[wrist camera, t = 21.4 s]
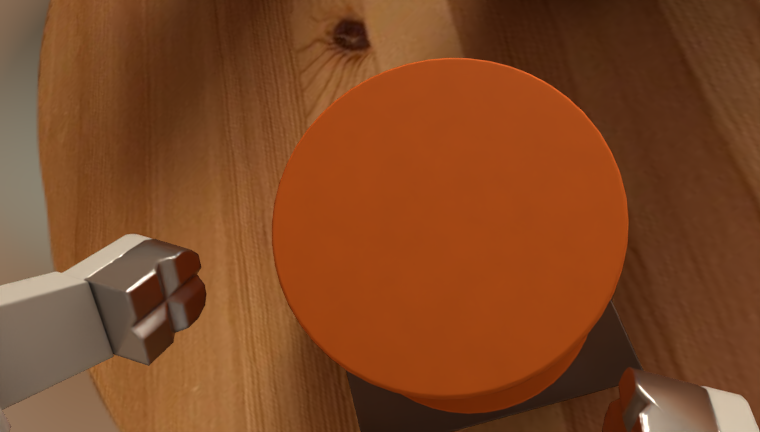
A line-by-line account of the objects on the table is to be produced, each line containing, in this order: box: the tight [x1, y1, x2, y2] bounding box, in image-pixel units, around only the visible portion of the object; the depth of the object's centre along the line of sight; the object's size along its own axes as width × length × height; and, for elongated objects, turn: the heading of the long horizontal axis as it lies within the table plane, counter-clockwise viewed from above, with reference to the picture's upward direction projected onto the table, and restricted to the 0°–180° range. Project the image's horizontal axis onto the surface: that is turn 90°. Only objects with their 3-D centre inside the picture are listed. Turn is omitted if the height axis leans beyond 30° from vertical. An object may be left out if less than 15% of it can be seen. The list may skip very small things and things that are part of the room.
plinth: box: [346, 299, 643, 432], centre depth 17 cm, size 9×9×3 cm
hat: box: [272, 58, 629, 414], centre depth 12 cm, size 8×8×8 cm
